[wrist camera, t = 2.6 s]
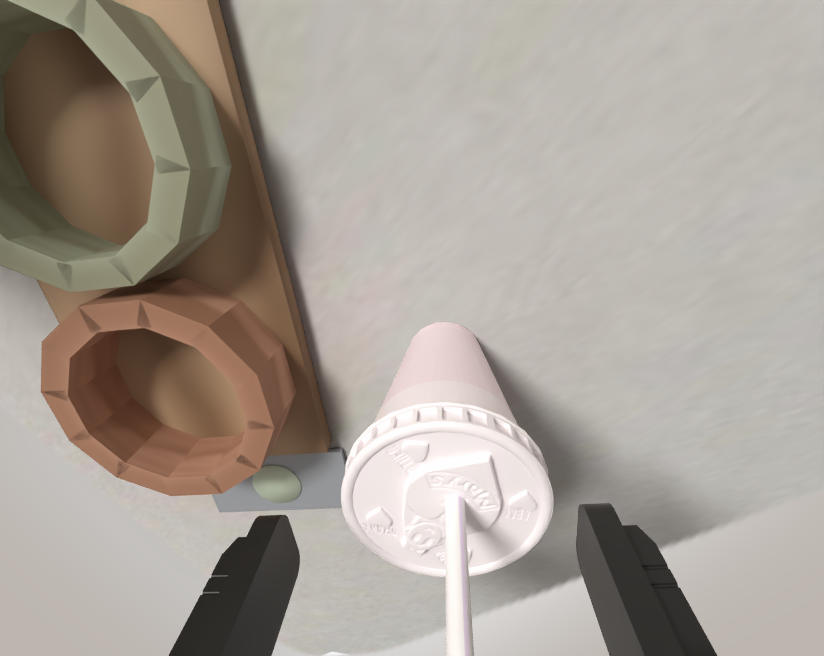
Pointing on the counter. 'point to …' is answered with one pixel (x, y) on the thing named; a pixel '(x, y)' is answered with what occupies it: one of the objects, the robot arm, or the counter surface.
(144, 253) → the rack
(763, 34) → the counter surface
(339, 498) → the card
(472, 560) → the smoothie
